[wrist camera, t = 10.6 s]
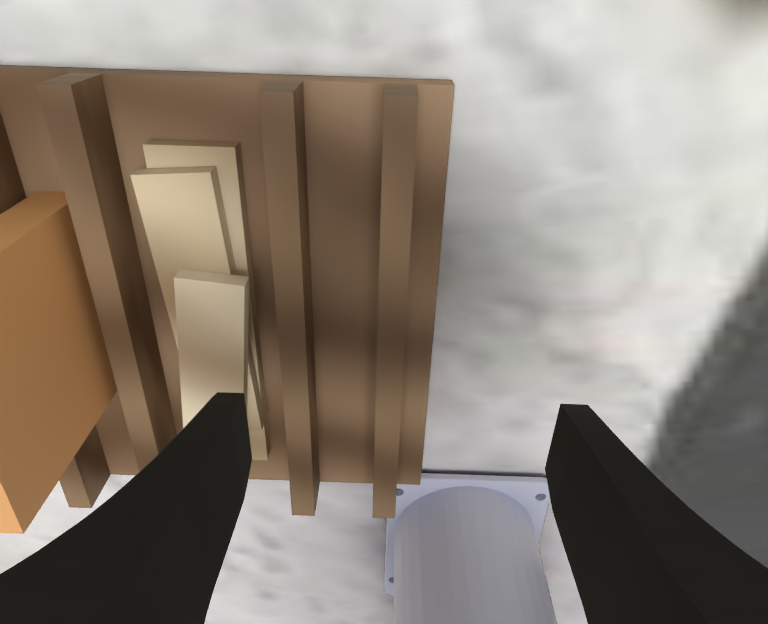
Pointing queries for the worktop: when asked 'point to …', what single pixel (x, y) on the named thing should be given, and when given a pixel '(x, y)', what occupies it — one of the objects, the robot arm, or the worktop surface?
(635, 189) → the worktop surface
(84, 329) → the orange square slab
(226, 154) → the offcut stack
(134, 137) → the rack
